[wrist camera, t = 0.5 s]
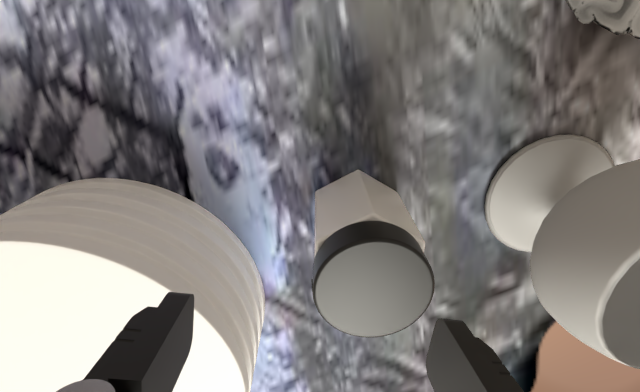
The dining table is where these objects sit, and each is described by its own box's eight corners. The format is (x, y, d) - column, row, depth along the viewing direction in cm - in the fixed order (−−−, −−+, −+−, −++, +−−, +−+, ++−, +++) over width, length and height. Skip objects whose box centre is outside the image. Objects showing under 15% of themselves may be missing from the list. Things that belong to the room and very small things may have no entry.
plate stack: (238, 163, 32) (201, 220, 22) (282, 378, 43) (271, 486, 33) (-56, 192, 33) (-230, 261, 22) (61, 396, 44) (-19, 507, 34)
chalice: (594, 90, 30) (835, 129, 16) (641, 210, 34) (859, 320, 21) (447, 180, 33) (543, 278, 19) (508, 279, 37) (620, 416, 24)
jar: (294, 223, 34) (283, 307, 23) (338, 155, 32) (350, 213, 21) (369, 262, 36) (392, 357, 25) (416, 201, 34) (466, 277, 23)
